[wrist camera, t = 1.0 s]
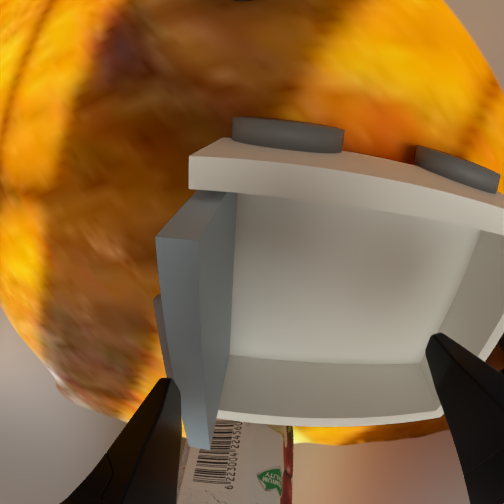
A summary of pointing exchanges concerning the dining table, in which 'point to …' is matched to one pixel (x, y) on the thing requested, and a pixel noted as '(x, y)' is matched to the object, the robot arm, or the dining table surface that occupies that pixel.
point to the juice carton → (239, 466)
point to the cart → (350, 273)
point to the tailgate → (197, 305)
